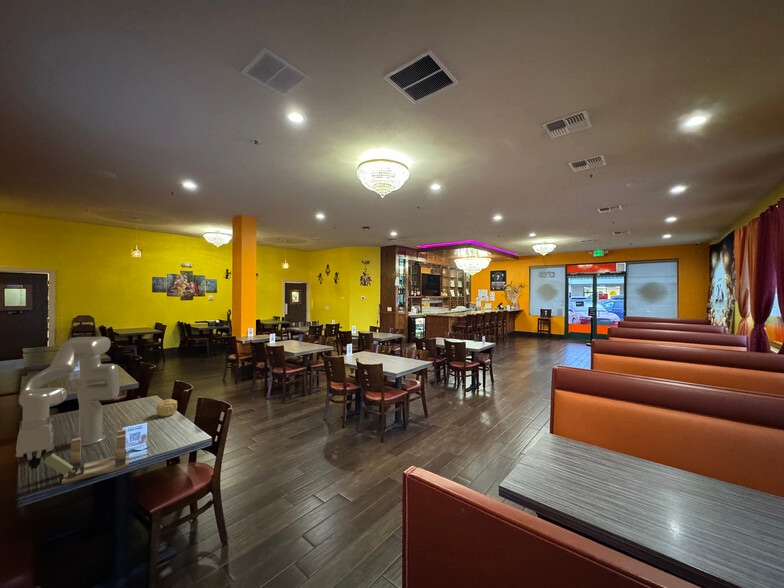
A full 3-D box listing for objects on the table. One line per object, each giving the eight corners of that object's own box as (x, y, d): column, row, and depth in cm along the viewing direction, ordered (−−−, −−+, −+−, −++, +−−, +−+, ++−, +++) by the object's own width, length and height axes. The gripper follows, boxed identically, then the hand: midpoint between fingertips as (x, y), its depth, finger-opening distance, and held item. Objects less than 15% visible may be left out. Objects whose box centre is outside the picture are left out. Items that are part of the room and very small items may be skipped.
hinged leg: (71, 475, 142) (45, 458, 137) (78, 469, 144) (52, 452, 139) (69, 479, 139) (42, 462, 134) (77, 473, 140) (51, 456, 135)
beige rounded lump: (157, 419, 209) (157, 403, 210) (155, 414, 218) (155, 398, 219) (178, 415, 217) (178, 399, 217) (175, 410, 226) (175, 395, 226)
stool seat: (67, 470, 148) (68, 438, 148) (129, 456, 161) (129, 427, 162) (61, 484, 137) (62, 450, 137) (128, 467, 150) (129, 436, 151)
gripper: (63, 416, 142) (61, 458, 141) (11, 424, 133) (10, 469, 132) (59, 421, 136) (58, 465, 136) (5, 430, 127) (4, 477, 126)
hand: (34, 467), depth 134 cm, fingers closed
